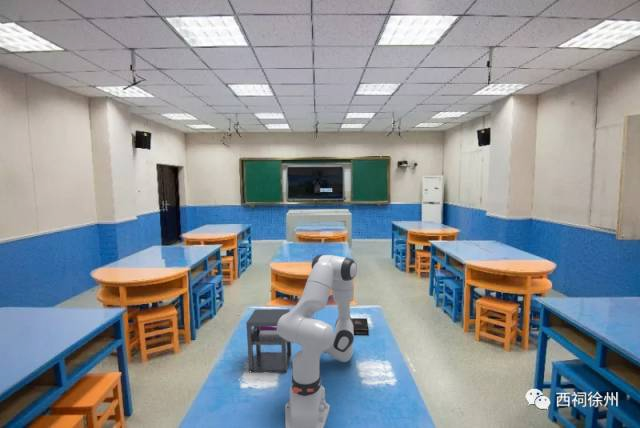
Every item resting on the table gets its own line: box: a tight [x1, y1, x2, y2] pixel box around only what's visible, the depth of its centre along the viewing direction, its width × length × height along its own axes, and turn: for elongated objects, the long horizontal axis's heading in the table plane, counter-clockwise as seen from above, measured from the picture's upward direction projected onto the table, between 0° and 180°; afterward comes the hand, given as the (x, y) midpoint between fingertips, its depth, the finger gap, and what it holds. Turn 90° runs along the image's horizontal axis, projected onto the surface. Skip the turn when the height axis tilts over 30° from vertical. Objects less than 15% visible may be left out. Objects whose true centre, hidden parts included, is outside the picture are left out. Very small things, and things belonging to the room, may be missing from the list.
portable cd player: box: [351, 317, 370, 337], centre depth 199 cm, size 16×17×4 cm
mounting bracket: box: [260, 327, 277, 331], centre depth 191 cm, size 9×8×18 cm
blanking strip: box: [259, 331, 281, 338], centre depth 161 cm, size 4×24×2 cm, turn 86°
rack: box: [246, 308, 293, 374], centre depth 162 cm, size 16×20×26 cm
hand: (298, 328), depth 160 cm, fingers open, 8 cm apart
